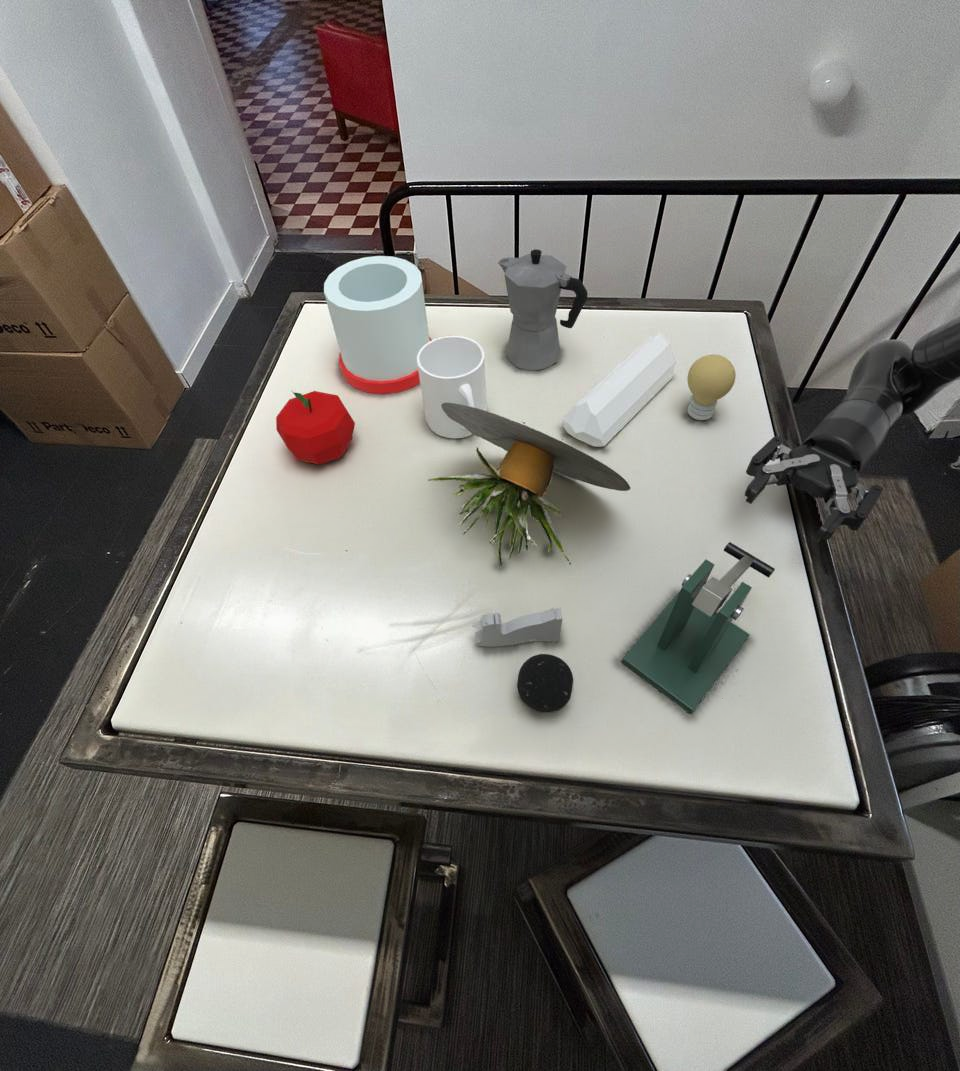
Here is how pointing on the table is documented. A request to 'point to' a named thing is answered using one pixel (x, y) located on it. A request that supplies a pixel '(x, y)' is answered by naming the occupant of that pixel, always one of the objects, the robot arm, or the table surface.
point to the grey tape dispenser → (519, 628)
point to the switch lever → (728, 580)
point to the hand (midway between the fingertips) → (783, 516)
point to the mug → (451, 381)
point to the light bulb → (709, 384)
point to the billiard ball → (545, 683)
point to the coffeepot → (537, 308)
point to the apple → (315, 427)
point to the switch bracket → (689, 643)
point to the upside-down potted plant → (522, 474)
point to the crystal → (622, 392)
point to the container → (378, 322)
